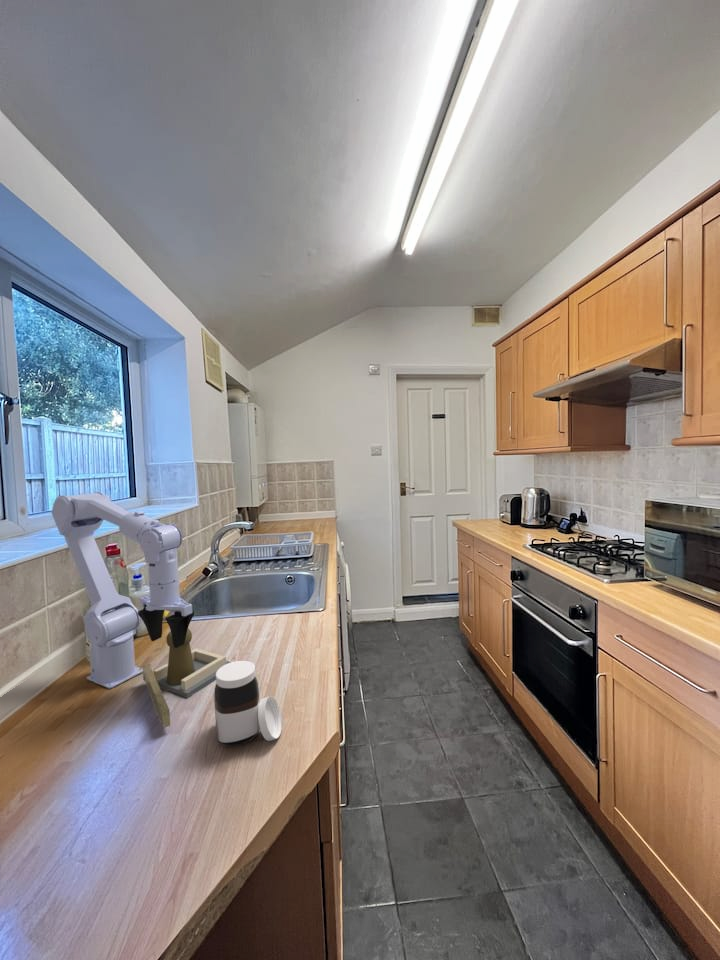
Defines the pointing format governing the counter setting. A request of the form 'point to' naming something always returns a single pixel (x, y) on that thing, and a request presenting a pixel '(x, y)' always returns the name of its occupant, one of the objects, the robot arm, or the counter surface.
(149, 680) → the bar
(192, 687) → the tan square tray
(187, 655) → the brown rounded piece
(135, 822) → the counter surface
